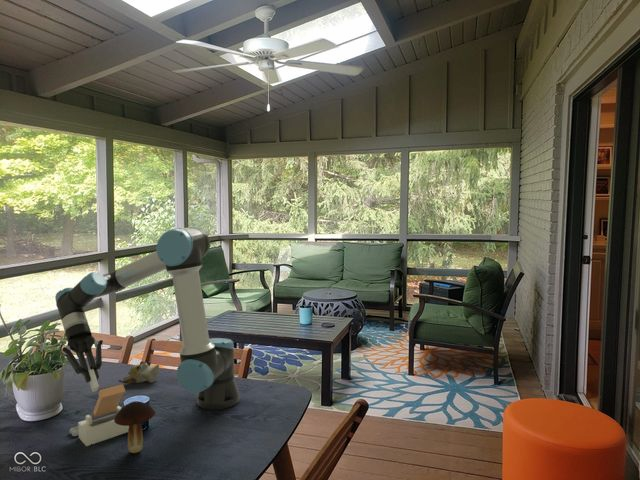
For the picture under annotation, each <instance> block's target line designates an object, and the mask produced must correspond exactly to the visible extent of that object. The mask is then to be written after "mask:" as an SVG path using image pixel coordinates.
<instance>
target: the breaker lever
mask: <svg viewBox="0 0 640 480" xmlns="http://www.w3.org/2000/svg"><path fill="white" fill-rule="evenodd" d="M98 390H99V389H98ZM126 392H127V391H126V389H125V386H124V383H122V384H118V385H114V386H111V387H110V386H109V387H107V388H103V389H100V390H99V391H98V398H97V400H96V404H95V406H94V409H93V412H91V413H90V416H91V417H92V420H95V419H98V418H101V417H105V416H108V415H111V414H114V413H117V407H118V406H119V403H120V402H121V399H122V397H123V396H124V395H125V394H126Z"/></svg>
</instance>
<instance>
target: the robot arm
mask: <svg viewBox="0 0 640 480" xmlns="http://www.w3.org/2000/svg"><path fill="white" fill-rule="evenodd" d="M210 247H211V240H210V237H209V235H208V233H207V232H206V231H205V230H204V229H202V228H199V227H197V226H196V227H195V226H191V227H175V228H172V229H169V230H167V231H165V232H163V234H161V236H160V237H159V238H158V240H157V243H156V247H155V248H156V250H155V251H153V252H151V253H149V254H147V255H145V256H143V257H140V258H138V259H136V260H134V261H132V262H130V263H128V264H125V265H123V266H121V267H119V268H116V269H115V270H113V271H111V272H108V273H105V274H101V273H99V272H96V271H92V272H89V273H88V274H87V275H85V276H83V278H82V279H81V280H80V281H79V282H78V283H76V285H75V286H74V287H66V288H62V290H58V292H56V294H55V303H56V304H55V305H56V307H57V310H58V314H59V318H60V320H61V324H62V326H63V327H62V328H63V330H64V332H65V338H66V341H67V345H66V346H65V347H62V350H61V352H60V354H61V355H63V356H64V357H65V358H66V359H67V361H68V363H69V364H70V365H71V367H72V369H73V370H74V372H75V373H76V374H77V375H79V374H80V375H81V374H82V376H83V377H84V381H85V382H86V383H89V386H90V388H91V392H92V393H94V392H97V391H98V390H99V388H100V385H99V382H98V380H99V378H100V375H99V372H98V370H100V369H101V366H102V365H103V362H102V359H103V358H102V357H103V356H102V345H103V343H104V342H103V340H102V339H101V340H96V339H95V337H94V336H93V335H92V334H93V333H92V332H91V327H90V325H89V320H88V319H87V316H86V313H85V309H84V308H85V307H86V306H88V305H89V304H90V303H91V302H92V301H93V300H94V299H97V298H101V297H104V296H107V295H110V294H115V293H118V292H121V291H123V290H125V289H126V288H127V287H129V286H132V285H134V284H136V283H138V282H141V281H143V280H145V279H148V278H149V277H152V276H154V275H156V274H158V273H161V272H163V271H165V270H166V271H165V272H167V274H169V275H171V277H172V283H173V289H174V294H175V296H174V297H175V302H176V308H177V314H178V321H179V328H180V334H181V339H182V347H181V349H180V351H179V357H180V363H179V365H178V367H177V368H176V379H177V382H178V383H179V385H180V387H182V388H183V389H185V390H186V391H188V392H189V393H190V392H191V393H197V396H196V400H197V401H196V403H197V406H198V407H199V408H201V409H205V410H213V411H215V410H224V409H228V408H231V407H233V406H235V405H237V404H238V403H239V402H240V391H239V389H238V386H237V384H236V380H235V347H234V346H235V345H234V341H233V340H232V339H230V338H222V337H220V338H219V337H213V338H210V336H209V330H208V322H207V317H206V310H205V303H204V297H203V291H202V285H201V278H200V277H201V276H200V272H199V271H200V270H201V268H202V267H203V261H202V259H203V258H204V257H205V256H206V255H207V254H208V252H209V251H210ZM93 346H94V348H95V356H94V354H93V352H92V350H93V349H92V347H93ZM73 352H74V353H75V354H76V357H77V358H76V357H75V355H74V354H73ZM85 356H86V357H85ZM94 357H95V358H94ZM77 359H78V360H77ZM78 361H79V362H78ZM87 363H88V364H87ZM88 366H89V367H88Z"/></svg>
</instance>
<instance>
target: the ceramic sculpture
mask: <svg viewBox="0 0 640 480" xmlns="http://www.w3.org/2000/svg"><path fill="white" fill-rule="evenodd" d="M127 373H128V375H129V376H125V377H124V378H122V379H119V380H118V382H120V383H122V384H128V385H129V384H132V383H137V384H138V383H144V382H149V383H151V384H152V383H155V382H156V381H157V378H158V375H159V374H160V365H159V364H156V365H149V364H148V363H147V362H146V361H140V362H139V363H137V364H135V365H134V366H132V367H131V368H130V370H129V371H128V372H127Z"/></svg>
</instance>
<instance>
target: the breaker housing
mask: <svg viewBox="0 0 640 480" xmlns="http://www.w3.org/2000/svg"><path fill="white" fill-rule="evenodd" d="M122 408H123V407H122V406H120V405H118V407H117V413H118V412H119V411H120V410H121V409H122ZM117 413H114V414H111V415H108V416H105V417H101V418H98V419H95V420H92V417H91V414H86V415H85V420H81V421H77V426H74V427H71V428H70V429H69V431H68V432H69V434H70V435H71V436H72V437H77V436H78V439H79V440H80V441H81V442H82V443H83V444H84V446H85V447H88V446H91V444H92V445H94V444H96V443H100V442H103V441H106V440H110V439H112V438H114V437H118V436H120V435H123V434H126V433H127V434H128V429H129V426H122V425H118V424H116V423H115V422H114V420H115V417H116V415H117Z"/></svg>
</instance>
